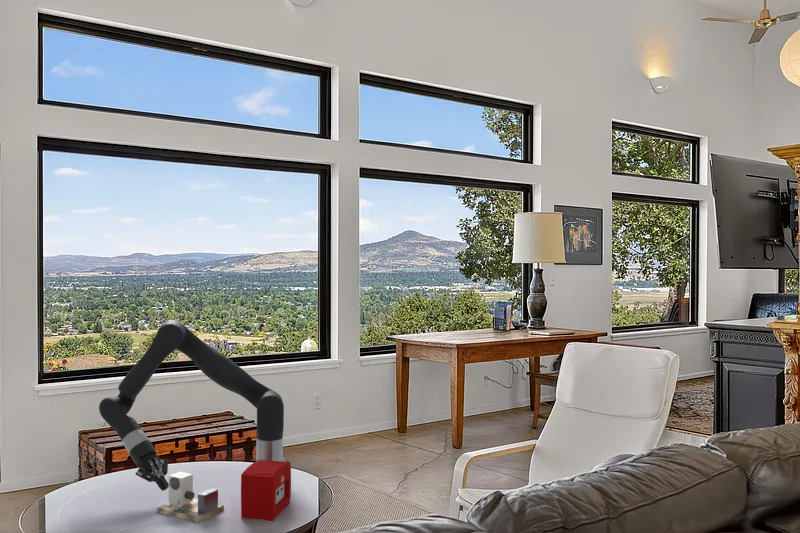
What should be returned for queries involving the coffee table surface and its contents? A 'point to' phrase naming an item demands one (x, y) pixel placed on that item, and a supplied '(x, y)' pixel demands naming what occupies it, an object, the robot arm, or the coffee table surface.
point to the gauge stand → (188, 511)
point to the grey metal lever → (178, 503)
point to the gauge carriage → (181, 488)
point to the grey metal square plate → (208, 501)
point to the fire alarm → (265, 489)
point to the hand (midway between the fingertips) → (165, 488)
